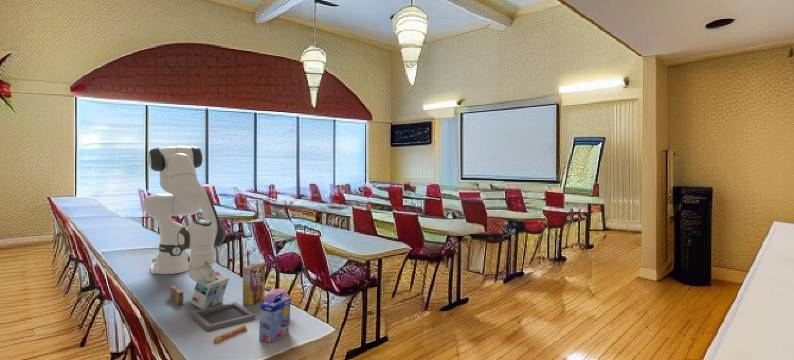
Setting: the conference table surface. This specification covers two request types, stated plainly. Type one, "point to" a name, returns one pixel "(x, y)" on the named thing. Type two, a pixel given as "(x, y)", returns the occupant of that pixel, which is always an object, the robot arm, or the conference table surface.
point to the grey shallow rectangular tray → (222, 316)
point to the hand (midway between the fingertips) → (201, 293)
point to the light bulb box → (209, 291)
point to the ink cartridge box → (274, 318)
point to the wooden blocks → (176, 295)
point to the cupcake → (275, 294)
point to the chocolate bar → (230, 334)
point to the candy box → (253, 283)
